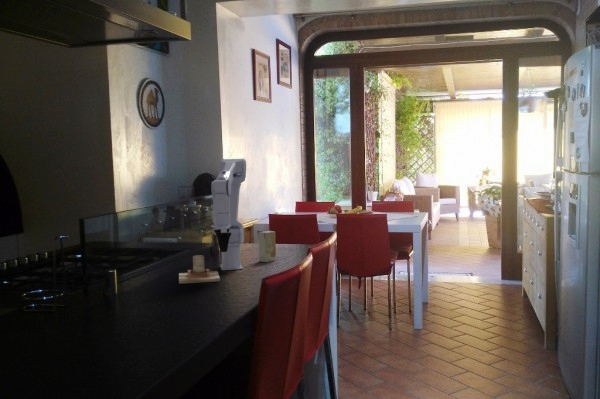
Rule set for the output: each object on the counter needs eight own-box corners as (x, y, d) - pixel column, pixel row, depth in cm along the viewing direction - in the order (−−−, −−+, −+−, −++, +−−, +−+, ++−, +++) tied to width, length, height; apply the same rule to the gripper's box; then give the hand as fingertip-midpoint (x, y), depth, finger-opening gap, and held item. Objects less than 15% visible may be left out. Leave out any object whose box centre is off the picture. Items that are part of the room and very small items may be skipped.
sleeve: (193, 274, 210) (192, 255, 210) (204, 274, 211) (204, 255, 210) (193, 277, 206) (192, 257, 206) (204, 276, 207) (204, 256, 206)
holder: (178, 275, 214) (178, 269, 214) (217, 273, 217) (217, 266, 217) (179, 283, 200) (178, 276, 200) (220, 281, 203) (219, 274, 203)
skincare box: (266, 262, 238) (265, 232, 237) (258, 261, 240) (257, 232, 240) (276, 260, 243) (275, 231, 242) (268, 259, 246) (267, 230, 245)
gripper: (209, 211, 217) (210, 247, 218) (211, 215, 203) (213, 253, 204) (228, 210, 218) (229, 246, 219) (232, 214, 204) (233, 252, 205)
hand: (223, 250), depth 212 cm, fingers open, 7 cm apart
